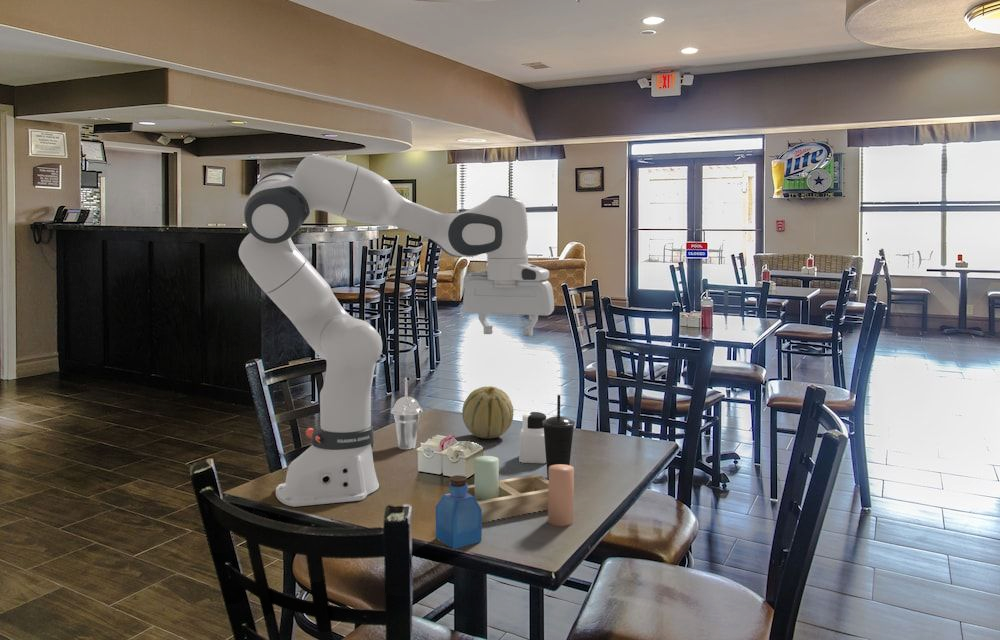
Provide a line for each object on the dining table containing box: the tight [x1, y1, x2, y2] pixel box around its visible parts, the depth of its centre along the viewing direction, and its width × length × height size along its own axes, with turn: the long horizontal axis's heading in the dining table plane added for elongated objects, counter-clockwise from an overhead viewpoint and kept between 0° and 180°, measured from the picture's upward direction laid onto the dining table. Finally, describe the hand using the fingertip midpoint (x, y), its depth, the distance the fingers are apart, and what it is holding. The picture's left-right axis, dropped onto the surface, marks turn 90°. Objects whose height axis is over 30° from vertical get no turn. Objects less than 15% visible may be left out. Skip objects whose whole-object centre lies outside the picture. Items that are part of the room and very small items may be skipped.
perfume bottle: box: [435, 475, 483, 550], centre depth 141 cm, size 6×6×12 cm
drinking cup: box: [542, 394, 576, 480], centre depth 177 cm, size 8×8×20 cm
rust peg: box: [547, 464, 575, 527], centre depth 150 cm, size 5×5×11 cm
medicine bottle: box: [518, 411, 547, 464], centre depth 193 cm, size 7×7×12 cm
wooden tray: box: [466, 474, 549, 524], centre depth 159 cm, size 21×11×4 cm, turn 118°
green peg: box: [474, 455, 500, 501], centre depth 156 cm, size 5×5×11 cm
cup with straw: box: [390, 376, 424, 450], centre depth 202 cm, size 8×9×20 cm
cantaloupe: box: [461, 385, 515, 440], centre depth 213 cm, size 15×15×15 cm
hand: (508, 334), depth 165 cm, fingers open, 8 cm apart
